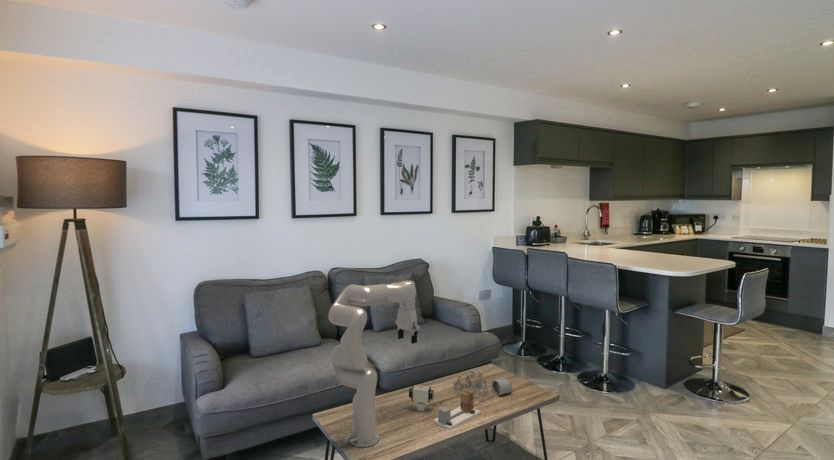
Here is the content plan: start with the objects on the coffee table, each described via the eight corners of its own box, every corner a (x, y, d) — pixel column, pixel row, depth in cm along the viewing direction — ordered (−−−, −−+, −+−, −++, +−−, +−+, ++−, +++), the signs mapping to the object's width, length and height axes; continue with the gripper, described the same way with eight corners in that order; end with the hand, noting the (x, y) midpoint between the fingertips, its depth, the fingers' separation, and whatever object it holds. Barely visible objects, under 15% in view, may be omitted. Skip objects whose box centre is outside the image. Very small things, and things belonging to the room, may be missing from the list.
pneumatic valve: (432, 412, 218) (432, 388, 217) (408, 410, 221) (408, 386, 220) (434, 407, 224) (434, 383, 223) (411, 405, 226) (411, 381, 225)
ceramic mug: (512, 394, 238) (512, 380, 237) (500, 397, 234) (500, 383, 234) (500, 387, 247) (500, 373, 247) (487, 390, 243) (487, 376, 243)
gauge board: (449, 430, 202) (449, 414, 201) (433, 422, 209) (433, 406, 209) (480, 413, 217) (480, 399, 217) (464, 406, 224) (464, 392, 224)
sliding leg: (471, 413, 213) (471, 397, 212) (460, 408, 218) (460, 392, 217) (478, 410, 216) (478, 394, 215) (467, 405, 221) (467, 389, 220)
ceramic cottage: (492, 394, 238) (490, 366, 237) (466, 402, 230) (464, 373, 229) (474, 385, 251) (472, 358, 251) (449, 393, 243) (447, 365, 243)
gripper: (389, 304, 225) (390, 338, 226) (413, 310, 212) (413, 346, 214) (401, 302, 230) (401, 335, 231) (425, 308, 217) (425, 343, 219)
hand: (407, 340), depth 222 cm, fingers open, 9 cm apart
